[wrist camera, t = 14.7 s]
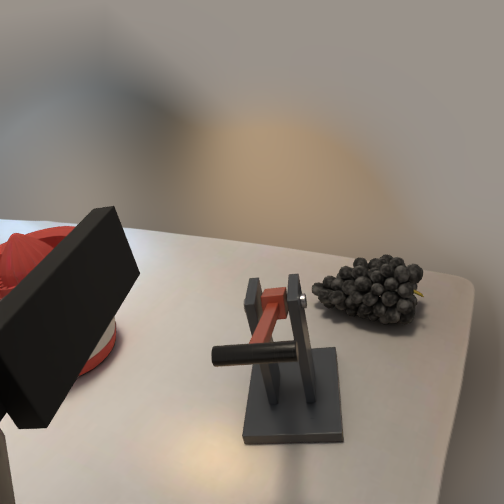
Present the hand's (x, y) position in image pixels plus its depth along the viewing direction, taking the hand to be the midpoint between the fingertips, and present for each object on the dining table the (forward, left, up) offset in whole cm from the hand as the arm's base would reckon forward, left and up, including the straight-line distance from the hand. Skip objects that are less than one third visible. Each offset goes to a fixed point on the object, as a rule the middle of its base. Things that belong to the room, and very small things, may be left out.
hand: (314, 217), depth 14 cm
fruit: (+2, -35, -32) cm, 48 cm away
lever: (+8, -14, -18) cm, 25 cm away
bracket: (+9, -20, -32) cm, 39 cm away
